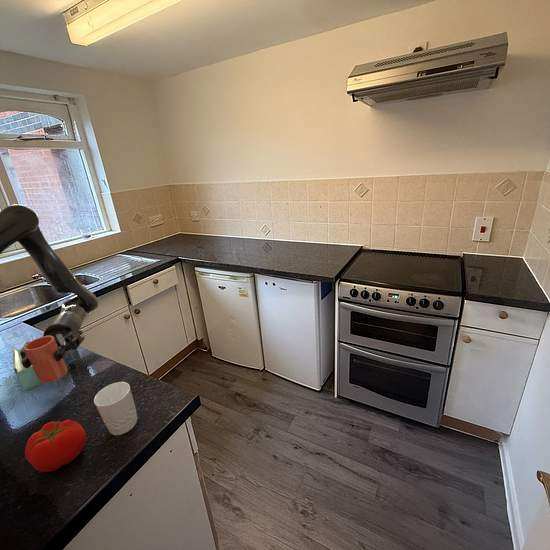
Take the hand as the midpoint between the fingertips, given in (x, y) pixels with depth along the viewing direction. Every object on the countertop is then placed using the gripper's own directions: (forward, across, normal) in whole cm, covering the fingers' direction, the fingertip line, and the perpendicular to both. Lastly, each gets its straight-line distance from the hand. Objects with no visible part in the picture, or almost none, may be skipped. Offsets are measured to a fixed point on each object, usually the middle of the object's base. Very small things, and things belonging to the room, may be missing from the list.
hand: (41, 361), depth 73 cm
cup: (-2, 0, +6) cm, 6 cm away
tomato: (+14, +4, +18) cm, 23 cm away
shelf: (-26, -14, +18) cm, 35 cm away
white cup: (+9, +16, +18) cm, 26 cm away
